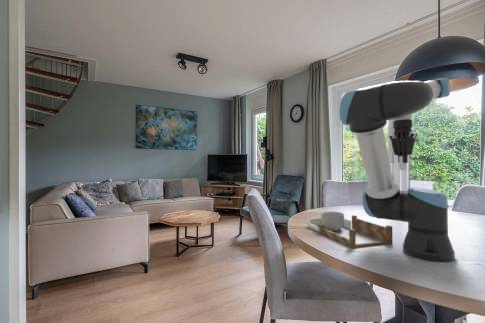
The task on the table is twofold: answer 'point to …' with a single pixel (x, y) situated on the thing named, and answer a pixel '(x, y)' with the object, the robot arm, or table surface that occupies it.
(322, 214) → the teacup
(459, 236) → the table surface
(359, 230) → the wooden frame
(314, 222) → the holder
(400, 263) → the table surface
